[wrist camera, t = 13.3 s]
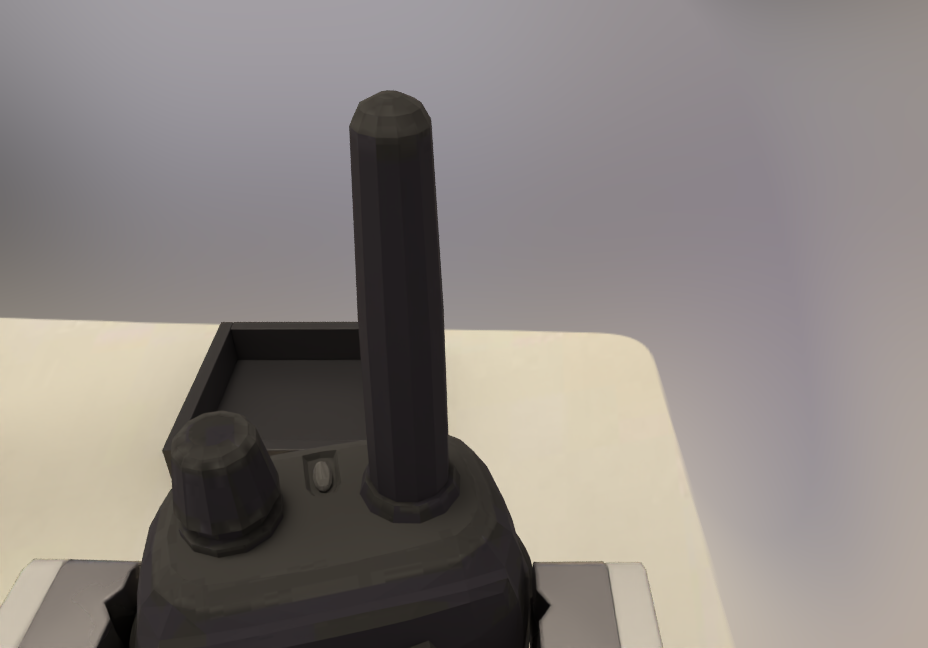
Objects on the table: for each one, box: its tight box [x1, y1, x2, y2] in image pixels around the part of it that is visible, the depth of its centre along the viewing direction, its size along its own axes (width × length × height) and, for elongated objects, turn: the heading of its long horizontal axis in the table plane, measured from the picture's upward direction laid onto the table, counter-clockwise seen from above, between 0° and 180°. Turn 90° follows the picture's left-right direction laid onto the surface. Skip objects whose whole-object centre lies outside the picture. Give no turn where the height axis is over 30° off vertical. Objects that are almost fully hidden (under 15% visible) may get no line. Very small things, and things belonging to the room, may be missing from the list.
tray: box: [162, 322, 367, 479], centre depth 45 cm, size 12×12×3 cm
